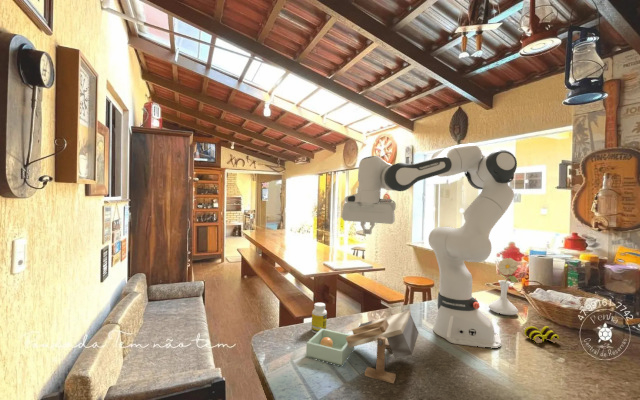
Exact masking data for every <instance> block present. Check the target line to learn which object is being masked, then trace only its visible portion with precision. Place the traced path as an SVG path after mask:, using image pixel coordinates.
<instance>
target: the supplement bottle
mask: <svg viewBox="0 0 640 400" xmlns="http://www.w3.org/2000/svg"><path fill="white" fill-rule="evenodd" d="M313 305H314V306H313V307H314V308H313V310H312V311H311V328H310V329H311V332H312V333H314V334H316V333H317V332H319V331H320V330H321V329H327V317H328V312H327V310H326V303H324V302H315V303H314V304H313Z"/></svg>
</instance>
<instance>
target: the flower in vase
mask: <svg viewBox="0 0 640 400" xmlns="http://www.w3.org/2000/svg"><path fill="white" fill-rule="evenodd" d="M497 266H498V267H497V268H498V273H499V275H500V276H501V277H503V278H504V279H502V280H501V279H500V280H497V282H498V283H499V286H500V297H499V298H498V299H496V300H494V301H492V302H491V303H489V304H488V308H489V309H490V310H491V311H492V312H494V313H496V314H499V313H500V314H501V315H504V316H505V315H506V316H514V315H515V316H516V315H518V313H519V310H518V308H517V307H516V306H515V304H513V303H512V302H511V301H510V300H509V299H508V296H507V295H508V288H509V286H510V285H511V284H512V283H518V279H517V277H516V276H514V275H513V274H515V272H516V271H517V270H518V269H519V267H518V266H519V265H518V262H517V260H515V259H514V258H512V257H509V258H508V257H506V258H505V259H504V258H503V259H502V260H500V261H499V263H498V265H497ZM508 275H509V276H508ZM511 275H512V276H511ZM506 276H508V278H507V277H506ZM509 279H510V281H509Z"/></svg>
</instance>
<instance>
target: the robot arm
mask: <svg viewBox="0 0 640 400" xmlns="http://www.w3.org/2000/svg"><path fill="white" fill-rule="evenodd" d="M517 167H518V163H517V158H516V157H515V155H514V154H513V153H512V152H510V151H508V150H503V149H500V150H496V151H493V152H492V153H491V152H490V154H488V155H486V156H485V155H484V154H483V153H482V150H481V148H480V147H479V146H478V145H476V144H474V143H465V144H464V143H463V144H457V145H452V146H450V147H446V148H445V147H444V148H442V149H441V150H438V151H436V152H435V153H433V155H432V156H431V158H430V159H426V160H423V161H420V162H417V163H416V162H415V163H406V162H397V163H394V164H391V163H388V162H386V161H385V160H384V159H383V158H381V157H380V156H379V155H370V156H366V157H364V158H362V159H361V160H360V161H359V165H358V171H357V172H358V174H357V180H358V186H357V191H356V193H354V194H350V195H347V196H345V198H344V201H345V203H344V204H343V206H342V211H341V212H342V213H341V218H342V220H343V221H345V222H356V223H357V222H359V223H360V226H361V228H362V235H363V234H364V235H372V233H373V232H372V231H373V228H375V225H376V224H387V225H392V224H394V223H395V221H396V215H395V214H396V213H395V211H396V209H397V207H396V206H397V205H396V202H395V201H394V200H392V198H387V199H386V198H381V189H382V190H386V191H394V192H395V191H396V192H404V191H407V190H409V189H410V188H412V187H413V186H414V185H415V184H416V183H418V182H420V181H423V180H426V179H429V178H433V177H436V176H438V177H449V176H455V175H459V174H461V173H464V176H465V177H466V179H467V182H468V184H470V185H471V186H472V187H473V189H475V190H476V189H477V190H482V191H481V192H480V194H479V195H477V196H476V198H475V199H474V200H473V201H472V202H471V203H470V205H468V206H467V208H466V209H465V210H464V212H463V219H464V221H465V222H464V223H463V225H462V226H461V227H459V228H457V227H453V226H439V227H438V226H437V227H435V228H433V229H432V230H431V231H430V232H429V236H428V245H429V246H430V248H431V249H432V251H433V253H434V255H435V258H436V261H437V265H438V270H439V291H438V294H437V299H436V301H437V302H436V305H437V312H436V314H437V315H436V318H435V323H434V325H433V328H432V330H433V332H434V333H435V334H436V335H438V336H439V337H442V338H444V339H445V340H447V341H448V342H449V343H452V344H455V345H463V346H471V347H477V346H478V347H479V348H485V347H491V348H490V349H492V348H498V347H500V345H501V346H502V340H501V337H500V335H499V334H497V332H495V328H494V324H493V322H492V321H491V319H490V318H489V317H488V316H487V315H486V314H485V313H483V312H482V311H481V310H479V309H480V303H479V302H478V300H477V298H476V297H473V276H472V273H471V272H470V270H469V269H468V267H467V266H466V264H465V262H468V263H483V262H484V261H486V260H487V259H488V258H489V256H490V255H491V253H492V243H491V240H490V238H489V237H490V235H491V234H490V233H491V232H492V229H493V228H494V227H495V226H496V224H497V222H499V220H500V219H501V218H502V217H503V215H505V213H506V211H507V210H508V209H509V207H510V205H511V204H512V202H513V200H514V197H515V193H514V190H513V189H512V187H511V186H510V185H509V183H511V182H512V181H513V180H514V177H515V173H516V170H517ZM366 223H369V226H370V227H369V228H366ZM500 348H501V347H500ZM498 349H499V348H498Z"/></svg>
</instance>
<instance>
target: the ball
mask: <svg viewBox="0 0 640 400" xmlns="http://www.w3.org/2000/svg"><path fill="white" fill-rule="evenodd" d="M320 345H323V346H327V347H331V348H332V346H333V342H332V340H331V339H330V338H329V337H324V338H323V339H322V340H321V342H320Z"/></svg>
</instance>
